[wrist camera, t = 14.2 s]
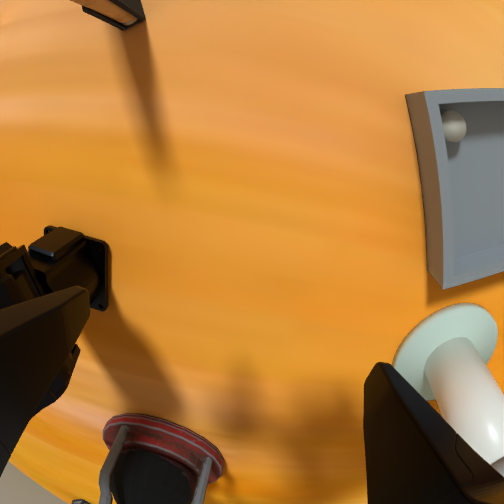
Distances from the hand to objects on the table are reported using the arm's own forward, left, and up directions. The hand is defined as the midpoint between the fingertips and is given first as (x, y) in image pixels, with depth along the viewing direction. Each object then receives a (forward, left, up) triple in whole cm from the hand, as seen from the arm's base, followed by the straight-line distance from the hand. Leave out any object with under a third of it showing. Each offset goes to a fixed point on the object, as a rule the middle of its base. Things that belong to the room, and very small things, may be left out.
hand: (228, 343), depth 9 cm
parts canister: (-8, -19, -12) cm, 24 cm away
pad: (-8, -19, -13) cm, 25 cm away
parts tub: (+8, -16, -13) cm, 22 cm away
